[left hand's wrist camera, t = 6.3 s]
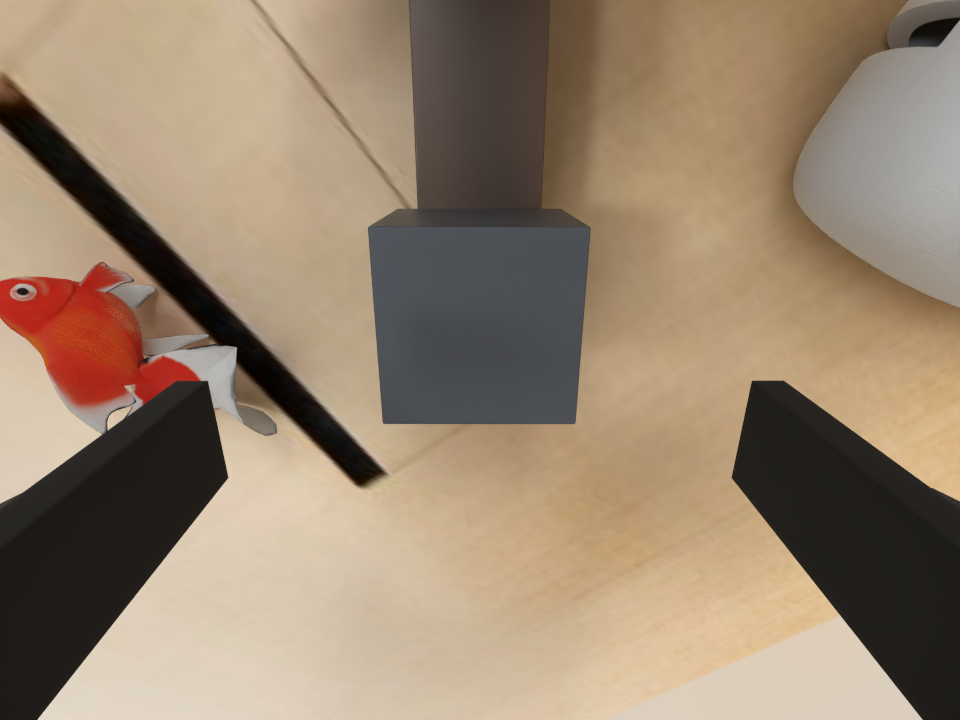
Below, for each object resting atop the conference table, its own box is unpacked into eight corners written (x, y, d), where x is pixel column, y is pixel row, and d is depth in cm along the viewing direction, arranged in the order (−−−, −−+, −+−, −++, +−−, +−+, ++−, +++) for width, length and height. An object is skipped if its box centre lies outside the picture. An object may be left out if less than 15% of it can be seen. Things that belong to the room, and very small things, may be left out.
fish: (124, 169, 25) (-7, 322, 19) (337, 349, 36) (294, 484, 30) (19, 242, 30) (-113, 383, 24) (235, 383, 41) (180, 505, 35)
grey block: (405, 362, 28) (382, 424, 21) (396, 208, 25) (367, 226, 18) (553, 362, 28) (575, 424, 21) (561, 208, 25) (590, 226, 18)
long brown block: (433, 342, 34) (424, 379, 28) (414, -234, 24) (394, -355, 18) (525, 342, 34) (534, 379, 28) (545, -233, 24) (565, -355, 18)
